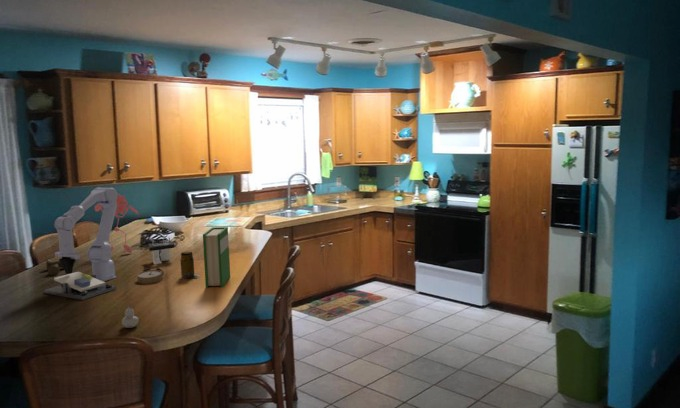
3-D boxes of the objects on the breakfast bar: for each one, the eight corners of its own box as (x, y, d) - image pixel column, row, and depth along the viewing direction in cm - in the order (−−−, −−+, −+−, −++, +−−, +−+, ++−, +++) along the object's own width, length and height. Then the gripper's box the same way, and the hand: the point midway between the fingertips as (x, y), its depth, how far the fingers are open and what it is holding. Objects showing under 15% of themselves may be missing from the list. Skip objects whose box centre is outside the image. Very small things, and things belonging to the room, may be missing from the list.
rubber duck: (120, 330, 187) (118, 308, 186) (124, 324, 193) (123, 302, 192) (136, 329, 188) (135, 307, 187) (140, 322, 194) (138, 301, 193)
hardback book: (222, 287, 238) (219, 234, 234) (205, 287, 237) (202, 234, 234) (230, 276, 255) (227, 227, 252) (214, 277, 255) (212, 227, 252)
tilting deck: (53, 280, 235) (54, 273, 234) (78, 273, 245) (78, 267, 244) (81, 291, 227) (81, 285, 226) (105, 284, 237) (105, 278, 237)
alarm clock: (133, 278, 245) (142, 265, 259) (134, 288, 247) (143, 274, 261) (158, 277, 246) (166, 264, 260) (159, 287, 247) (167, 273, 262)
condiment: (183, 275, 260) (181, 250, 259) (200, 274, 260) (199, 250, 258) (178, 279, 253) (177, 254, 251) (196, 278, 253) (195, 253, 251)
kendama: (42, 277, 263) (49, 267, 282) (64, 276, 267) (69, 266, 285) (41, 265, 263) (48, 256, 281) (63, 264, 266) (68, 255, 284)
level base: (44, 293, 235) (43, 280, 234) (79, 283, 250) (78, 271, 249) (82, 300, 223) (81, 287, 222) (116, 289, 238) (115, 277, 237)
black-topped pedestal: (136, 271, 271) (134, 245, 269) (133, 260, 294) (131, 237, 293) (192, 265, 282) (191, 240, 280) (185, 255, 306) (184, 232, 304)
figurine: (138, 255, 305) (134, 194, 301) (93, 256, 306) (88, 195, 302) (148, 250, 320) (144, 192, 317) (105, 251, 321) (101, 193, 317)
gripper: (47, 244, 237) (50, 274, 239) (68, 246, 230) (71, 277, 232) (62, 241, 243) (64, 270, 245) (83, 243, 236) (85, 273, 238)
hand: (68, 273), depth 239 cm, fingers closed
